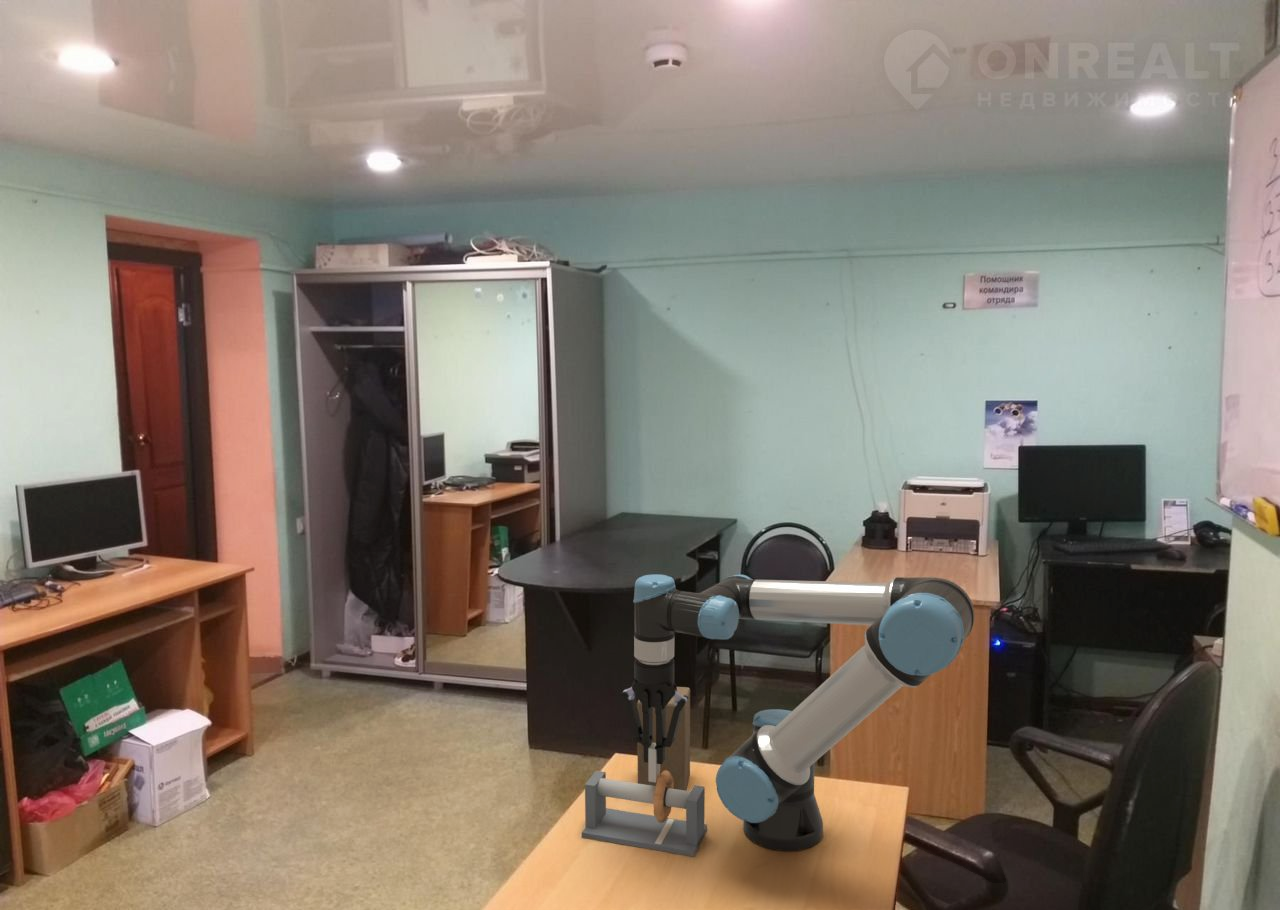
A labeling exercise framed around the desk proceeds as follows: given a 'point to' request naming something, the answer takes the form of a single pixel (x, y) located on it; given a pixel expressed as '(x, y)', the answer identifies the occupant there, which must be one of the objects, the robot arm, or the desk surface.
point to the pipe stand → (643, 816)
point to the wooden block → (677, 752)
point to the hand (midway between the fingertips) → (654, 778)
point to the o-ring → (659, 809)
